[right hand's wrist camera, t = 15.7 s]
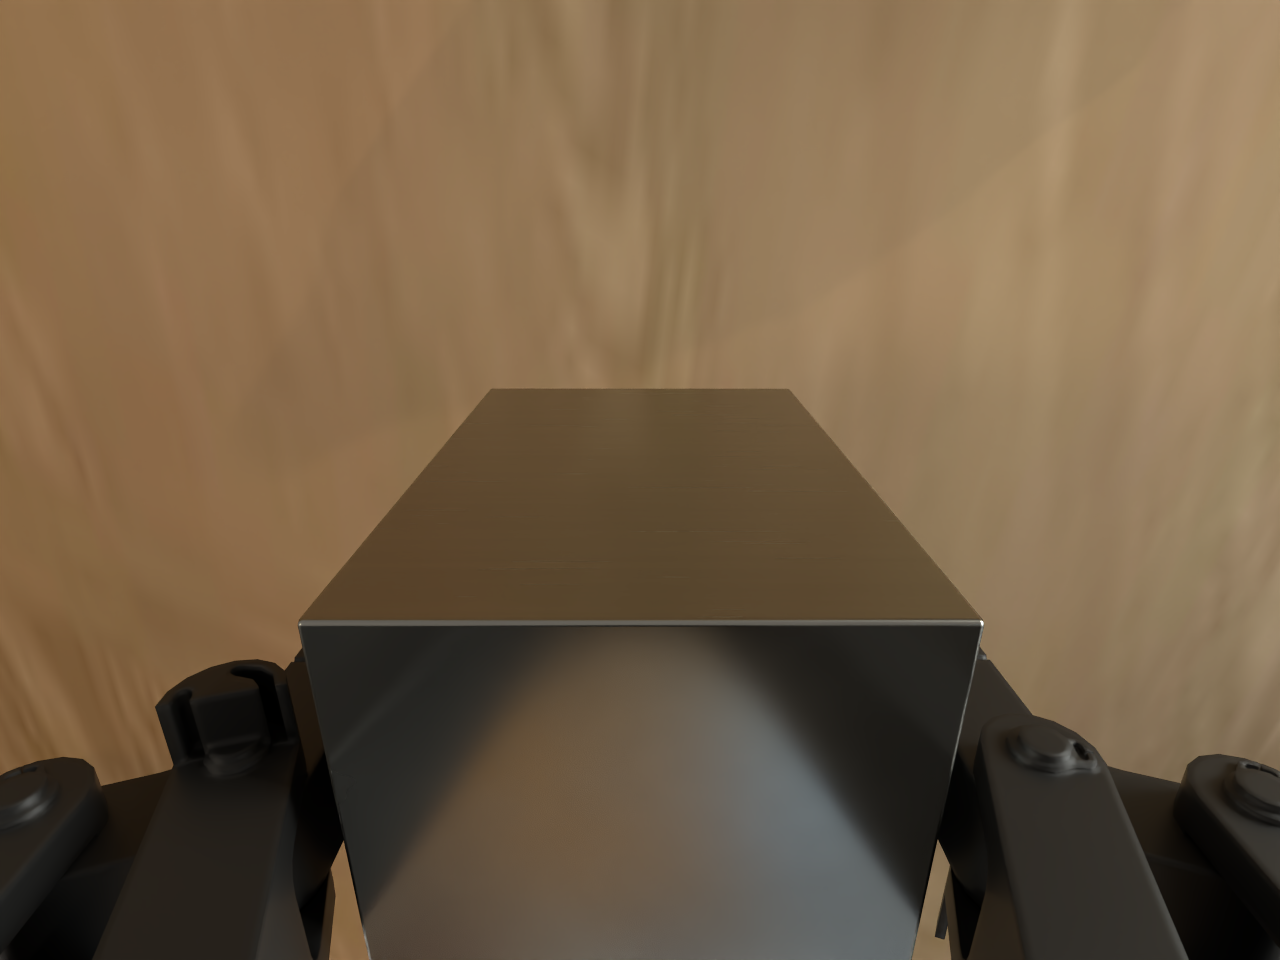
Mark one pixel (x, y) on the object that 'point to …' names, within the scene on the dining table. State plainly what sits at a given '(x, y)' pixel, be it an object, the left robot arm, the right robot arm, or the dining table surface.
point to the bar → (640, 690)
